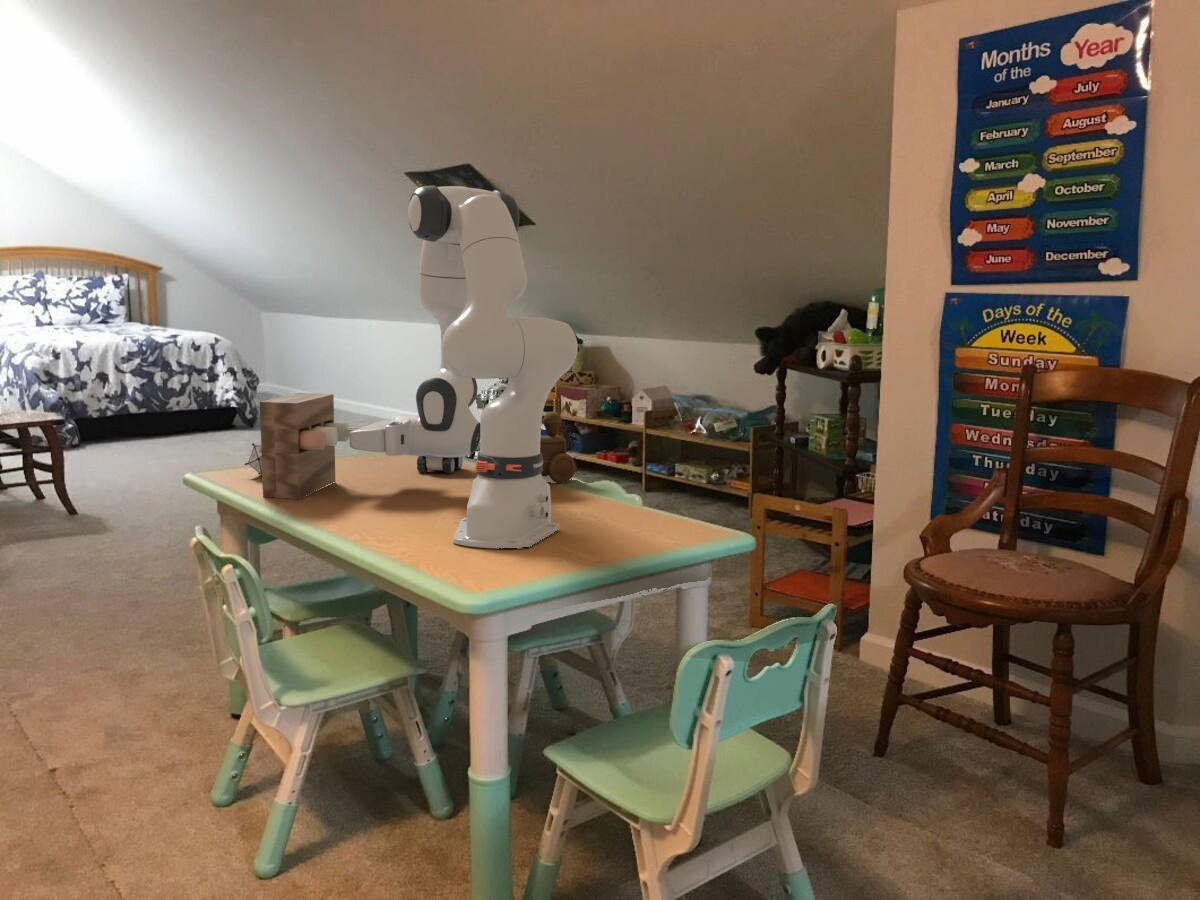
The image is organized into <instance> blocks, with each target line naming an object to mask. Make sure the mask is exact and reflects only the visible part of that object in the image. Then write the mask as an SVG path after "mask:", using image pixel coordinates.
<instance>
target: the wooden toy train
mask: <svg viewBox="0 0 1200 900" xmlns="http://www.w3.org/2000/svg"><path fill="white" fill-rule="evenodd" d="M562 422H563V420H562V418H561V416H560V414H559V412H557V411H547V412H546V414H545V415H544V417H542V422H541V423H542V424H543V426H544V429H545V431H546V433H547V435H541V439H540V452H541V453H542V459H543V471H542V472H541V475H542V477H543V478H544V477H549V478H550V479H551V480H552V482H554V483H556V484H564V483H563V482H565V483H567V482H568V481H570V480H571V479H572V478H573V477H574V475H575V473H576V472H578V466H577V465H576V463H575V460H574V459H573V457H572V456H571V455H570V454H568V453H567V439H566V438H565V437H564V436H562V435H557V433H558V431H559V429H560V427H561V424H562ZM566 481H567V482H566Z"/></svg>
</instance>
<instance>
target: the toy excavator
mask: <svg viewBox="0 0 1200 900" xmlns="http://www.w3.org/2000/svg"><path fill="white" fill-rule="evenodd" d="M463 463H464V461H463V457H436V456H433V455H424V456H417V459H416V466H417V467H416V470H417V472H418V473H427V472H428V471H442V472H443V473H444V474H453V472H454V471H455V470H461V469H462V467H463Z"/></svg>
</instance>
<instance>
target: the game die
mask: <svg viewBox="0 0 1200 900" xmlns="http://www.w3.org/2000/svg"><path fill="white" fill-rule="evenodd" d="M251 445H252V447H253V448H252V451H251V453H250V455H249V459H248V461H247V462H245V463H244V464H243V465H244V466H248V465H249V466H250V467H251V468H252V469H253V470H255V472H257V474H258V475H260V479H261V478H262V452H261V444H257V445H256V444H255V443H253V442H252V443H251Z"/></svg>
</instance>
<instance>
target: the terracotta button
mask: <svg viewBox="0 0 1200 900" xmlns="http://www.w3.org/2000/svg"><path fill="white" fill-rule="evenodd" d="M298 434H299V449H303V450H324V448H325V446H326V434H325V432H324V431H308V430H298Z"/></svg>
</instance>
